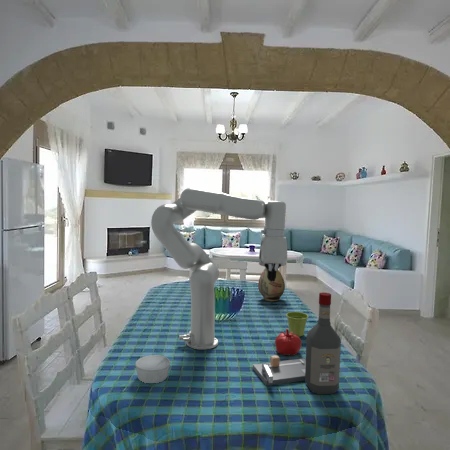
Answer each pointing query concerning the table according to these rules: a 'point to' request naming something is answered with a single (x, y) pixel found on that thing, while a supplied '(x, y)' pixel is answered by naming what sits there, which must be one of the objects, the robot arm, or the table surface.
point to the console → (283, 371)
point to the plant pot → (297, 322)
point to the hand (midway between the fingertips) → (271, 280)
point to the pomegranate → (287, 343)
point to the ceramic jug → (271, 286)
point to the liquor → (323, 352)
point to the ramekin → (152, 368)
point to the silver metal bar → (267, 372)
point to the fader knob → (275, 361)
